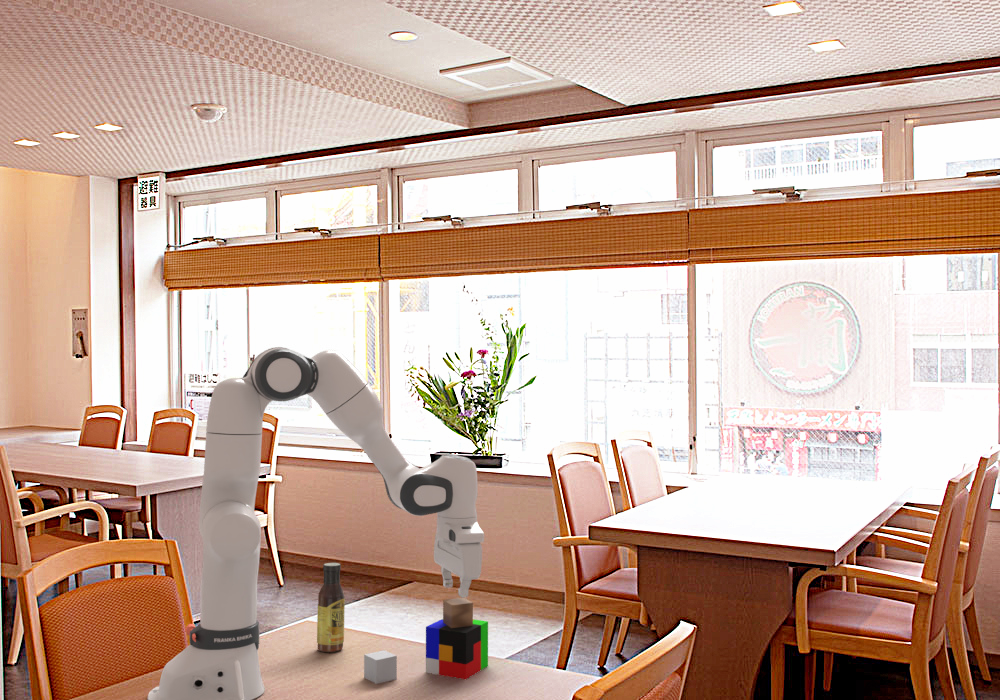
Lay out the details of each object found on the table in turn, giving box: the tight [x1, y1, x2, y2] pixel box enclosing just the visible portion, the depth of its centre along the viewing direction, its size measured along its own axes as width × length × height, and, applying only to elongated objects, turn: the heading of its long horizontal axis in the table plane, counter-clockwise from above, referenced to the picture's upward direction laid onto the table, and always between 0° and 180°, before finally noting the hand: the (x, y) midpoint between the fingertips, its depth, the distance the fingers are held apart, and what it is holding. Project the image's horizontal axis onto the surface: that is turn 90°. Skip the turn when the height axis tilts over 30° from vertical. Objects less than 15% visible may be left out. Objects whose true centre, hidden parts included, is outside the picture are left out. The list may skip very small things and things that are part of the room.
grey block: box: [363, 649, 398, 685], centre depth 202 cm, size 5×5×5 cm
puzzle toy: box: [425, 618, 489, 680], centre depth 208 cm, size 10×10×10 cm
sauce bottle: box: [316, 562, 346, 653], centre depth 222 cm, size 6×6×20 cm
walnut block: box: [442, 597, 474, 628], centre depth 208 cm, size 5×5×5 cm
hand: (455, 591), depth 208 cm, fingers open, 8 cm apart
